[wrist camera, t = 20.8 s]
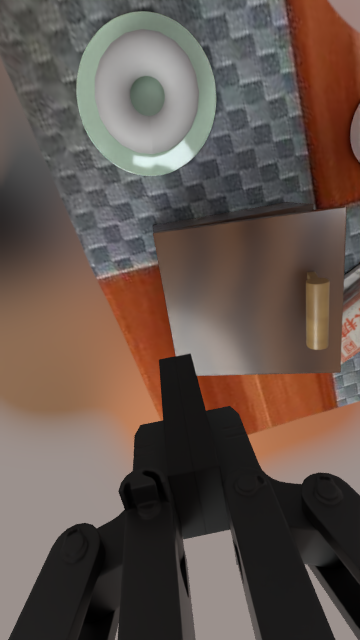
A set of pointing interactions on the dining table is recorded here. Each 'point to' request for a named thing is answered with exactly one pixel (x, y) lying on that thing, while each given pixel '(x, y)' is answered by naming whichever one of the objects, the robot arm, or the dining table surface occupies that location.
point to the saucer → (146, 96)
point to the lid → (257, 293)
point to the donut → (155, 61)
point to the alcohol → (356, 133)
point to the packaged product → (351, 315)
